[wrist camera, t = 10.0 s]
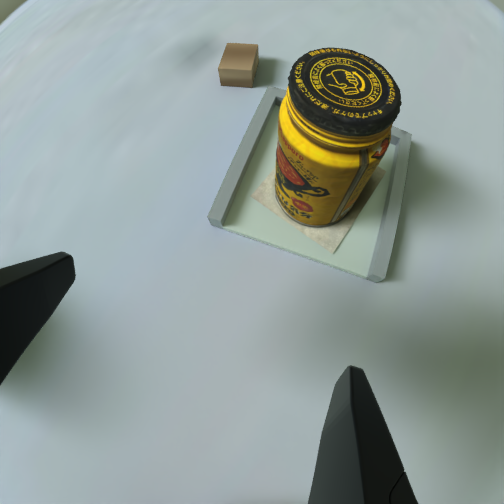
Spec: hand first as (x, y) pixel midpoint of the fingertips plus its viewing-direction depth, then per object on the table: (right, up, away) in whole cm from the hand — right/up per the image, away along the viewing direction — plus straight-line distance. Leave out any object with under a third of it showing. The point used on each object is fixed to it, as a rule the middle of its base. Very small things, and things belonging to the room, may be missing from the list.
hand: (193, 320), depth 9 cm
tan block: (0, +19, +19) cm, 27 cm away
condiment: (+7, +7, +15) cm, 18 cm away
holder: (+7, +7, +16) cm, 18 cm away
